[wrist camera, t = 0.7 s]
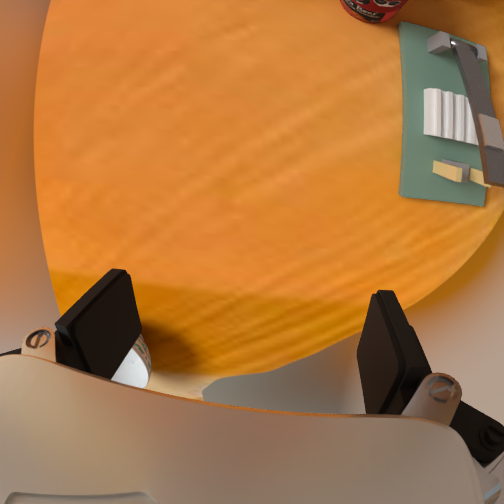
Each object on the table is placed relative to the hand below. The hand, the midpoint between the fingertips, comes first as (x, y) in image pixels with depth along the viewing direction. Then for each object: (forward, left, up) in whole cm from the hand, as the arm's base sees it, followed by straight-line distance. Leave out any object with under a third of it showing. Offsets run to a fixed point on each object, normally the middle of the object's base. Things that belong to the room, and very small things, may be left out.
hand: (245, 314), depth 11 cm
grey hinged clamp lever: (-12, +23, -21) cm, 33 cm away
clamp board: (-11, +23, -29) cm, 39 cm away
